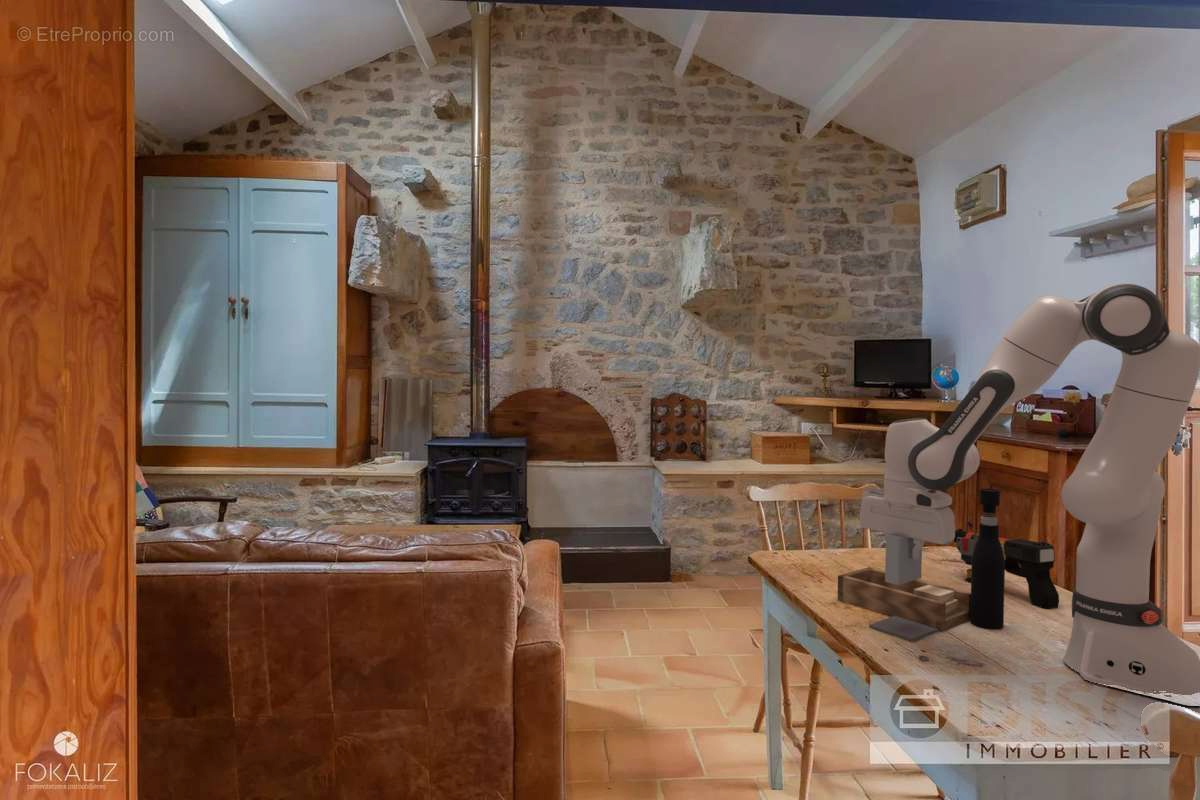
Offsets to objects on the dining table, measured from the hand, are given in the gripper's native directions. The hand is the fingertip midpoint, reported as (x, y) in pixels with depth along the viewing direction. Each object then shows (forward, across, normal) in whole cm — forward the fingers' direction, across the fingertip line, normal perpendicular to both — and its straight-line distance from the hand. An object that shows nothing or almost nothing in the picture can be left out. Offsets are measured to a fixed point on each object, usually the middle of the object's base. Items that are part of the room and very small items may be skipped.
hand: (904, 556), depth 151 cm
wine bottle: (+16, +9, +18) cm, 26 cm away
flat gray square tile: (+16, 0, 0) cm, 16 cm away
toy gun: (+16, 0, +46) cm, 48 cm away
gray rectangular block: (+5, 0, 0) cm, 5 cm away
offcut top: (+12, 0, +12) cm, 17 cm away
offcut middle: (+14, +1, +12) cm, 19 cm away
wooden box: (+16, -7, +12) cm, 21 cm away
